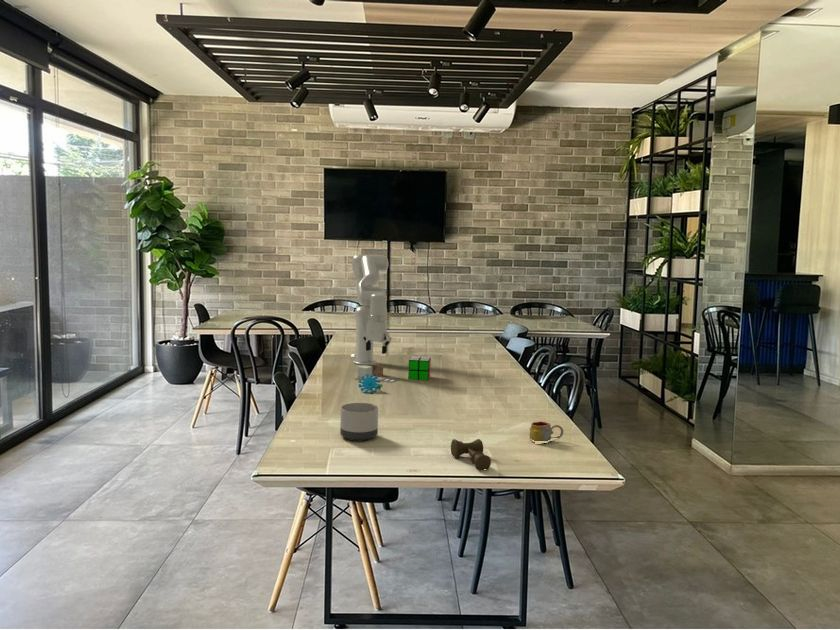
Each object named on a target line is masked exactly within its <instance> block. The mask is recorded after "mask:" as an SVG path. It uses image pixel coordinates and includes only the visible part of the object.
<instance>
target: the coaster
mask: <svg viewBox="0 0 840 630" xmlns="http://www.w3.org/2000/svg"><path fill="white" fill-rule="evenodd" d="M379 380H380V382H383V383H384V382H385V383H390V384H392V383H396V382H399V381H401V379H397V378H389V377H385V378H382V379H379Z"/></svg>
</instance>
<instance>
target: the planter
mask: <svg viewBox="0 0 840 630" xmlns="http://www.w3.org/2000/svg"><path fill="white" fill-rule="evenodd" d="M339 423H340V428H339V429H340V430H339V433H340V435H341V436H342V437H343V438H346V439H348V440H350V439H351V441H356V440H362V441H366V440H367V439H368V440H370V439H373V438H375V437H377V436H378V434H379V406H378V405H376V404H373V403H368V402H350V403H345V404H343V405H341V406H340V422H339ZM368 440H367V441H368Z"/></svg>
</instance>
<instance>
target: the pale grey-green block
mask: <svg viewBox="0 0 840 630" xmlns="http://www.w3.org/2000/svg"><path fill="white" fill-rule="evenodd" d="M366 374H369V377H370V376H371V374H372V367H371V366H369V365H358V366H357V378H358V379H360V380H363V379H362V378H361V377H362V376H364V379H366ZM369 377H368V378H369Z"/></svg>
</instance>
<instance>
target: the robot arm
mask: <svg viewBox="0 0 840 630" xmlns="http://www.w3.org/2000/svg"><path fill="white" fill-rule="evenodd" d="M351 266H352V271H353V274H354V277H355V281H356V300H357V302H358V303H359V305H360V306H358V307H356V309H355V312H354V317H355V326H356V329H355V330H356V335H355V337H356V338H355V339H356V341H355V342H356V343H355V353H351V355H350V358H352V359H353V360H352V363H353V364H355V365H359V366H363V365H365V366H369V364H372V363H377V360H375V359H374V342H377V343H381V344H382V346H381V354H383V355H385V354H387V352H388V345H389V344H390V343H391V341H392V339H393V338H392V337H391V336H390V335H389V334H388V328H387V319H388V308H387V303H388V302H387V292H386V290H385V288H383V287H380V286H373V285H375V284H377V283H378V282H379V281H380V278H381V277H380V276H381V275H380V271H381V272H383V271H385V272H386V271H387V270H388V269H389V259H388V257H387V256H386V255H384V254H371V253H369V254H364V253H363V254H362V253H359V254H356V255H354V256H353V257H352V261H351Z"/></svg>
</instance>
